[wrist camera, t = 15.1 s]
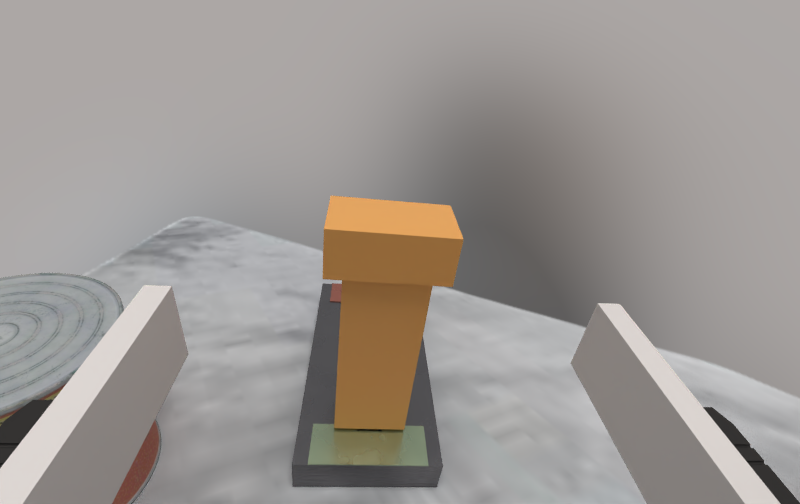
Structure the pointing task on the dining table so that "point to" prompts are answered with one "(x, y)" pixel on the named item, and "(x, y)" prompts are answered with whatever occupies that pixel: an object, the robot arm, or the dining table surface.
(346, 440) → the switch plate
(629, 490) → the dining table surface
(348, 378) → the handle
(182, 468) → the dining table surface
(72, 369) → the canned food
